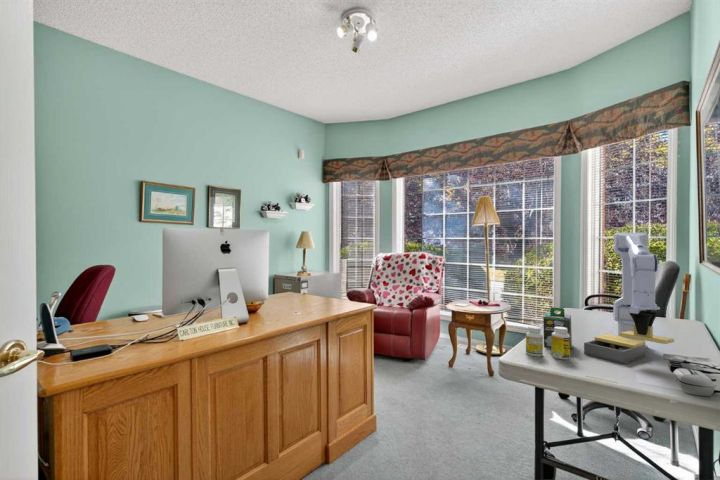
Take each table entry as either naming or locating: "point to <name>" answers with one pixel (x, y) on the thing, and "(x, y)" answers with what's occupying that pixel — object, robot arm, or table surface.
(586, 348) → the parts tub
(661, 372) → the table surface
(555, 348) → the supplement bottle
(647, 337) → the lid end segment
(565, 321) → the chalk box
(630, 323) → the robot arm
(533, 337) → the supplement bottle
